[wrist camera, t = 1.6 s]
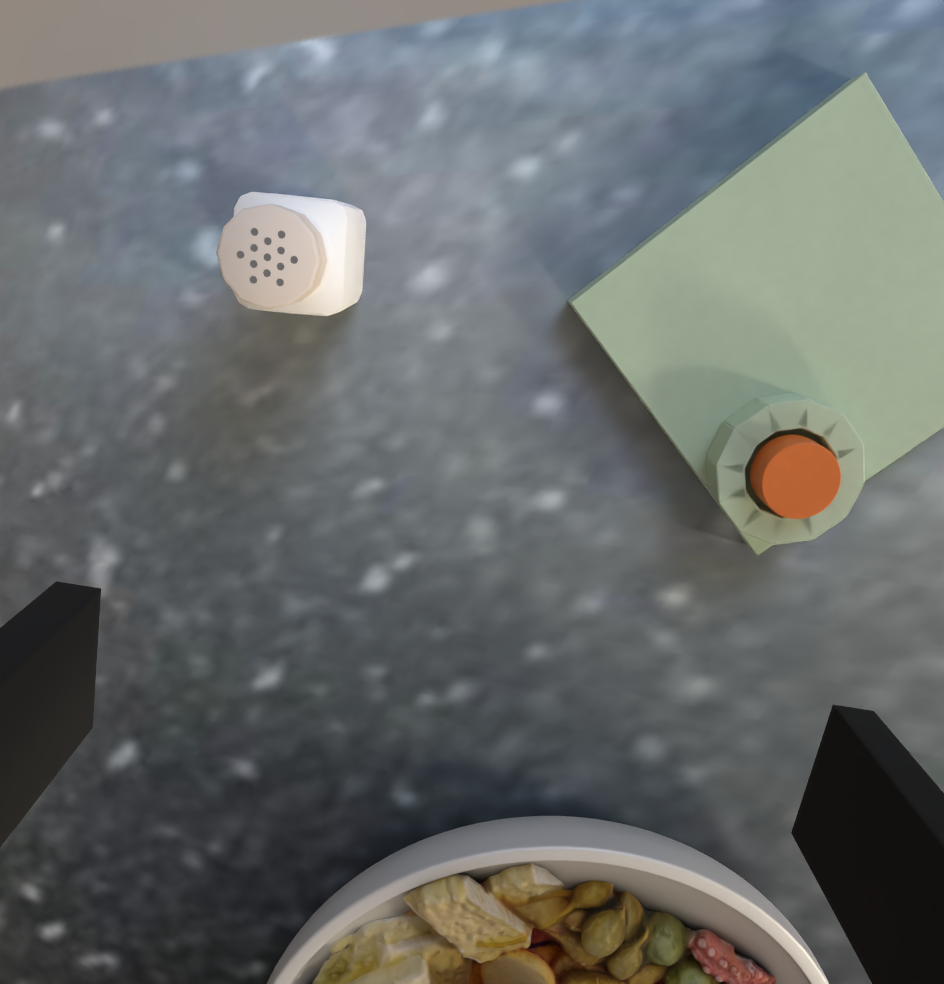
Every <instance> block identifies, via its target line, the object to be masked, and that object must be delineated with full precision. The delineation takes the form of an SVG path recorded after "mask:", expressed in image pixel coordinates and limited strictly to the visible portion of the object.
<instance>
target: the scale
mask: <svg viewBox="0 0 944 984" xmlns="http://www.w3.org/2000/svg"><path fill="white" fill-rule="evenodd" d="M568 303H569V304H570V306H571V307H572V308H573V310H574V311H575V312H576V314H577V315H578V317H579V318H580V319H581V321H582V322H583V323H584V325H585V326H586V327H587V329H588V330H589V331H590V333H591V334H592V335H593V337H594V338H595V340H596V341H597V342H598V344H599V345H600V346H601V348H602V349H603V350H604V352H605V353H606V354H607V356H608V357H609V358H610V360H611V361H612V363H613V364H614V365H615V367H616V368H617V369H618V371H619V372H620V373H621V375H622V376H623V377H624V379H625V380H626V381H627V383H628V384H629V386H630V387H631V388H632V390H633V391H634V392H635V394H636V395H637V396H638V398H639V399H640V400H641V402H642V403H643V404H644V406H645V407H646V409H647V410H648V411H649V413H650V414H651V415H652V417H653V418H654V419H655V421H656V422H657V423H658V425H659V426H660V427H661V429H662V430H663V432H664V433H665V434H666V436H667V437H668V438H669V440H670V441H671V442H672V444H673V445H674V446H675V448H676V449H677V450H678V452H679V453H680V455H681V456H682V457H683V459H684V460H685V461H686V463H687V464H688V465H689V467H690V468H691V469H692V471H693V472H694V473H695V475H696V476H697V478H698V479H699V480H700V482H701V483H702V484H703V486H704V487H705V488H706V490H707V491H708V492H709V494H710V495H711V496H712V498H713V499H714V501H715V502H716V503H717V505H718V506H719V507H720V509H721V510H722V511H723V513H724V514H725V515H726V517H727V518H728V519H729V521H730V522H731V524H732V525H733V526H734V528H735V529H736V530H737V532H738V533H739V534H740V536H741V537H742V538H743V540H744V541H745V542H746V544H747V545H748V546H749V547H750V548H751V550H752V551H753V552H754V553H755V554H756V555H759V554H760V553H762V552H763V551H765V550H766V549H768V548H769V547H770V546H772V545H773V544H775V545H778V544H785V543H793V542H800V541H808V540H813V539H815V538H816V537H818V536H819V535H821V534H822V533H824V532H825V531H827V530H828V529H830V528H831V527H832V526H834V525H835V524H837V523H838V522H840V521H841V520H843V519H844V518H845V517H846V516H847V515H848V513H849V511H850V509H851V508H852V506H853V504H854V502H855V500H856V498H857V497H858V495H859V493H860V491H861V489H862V487H863V486H864V484H865V481H866V480H868V479H869V478H870V477H872V476H873V475H875V474H876V473H878V472H879V471H881V470H882V469H883V468H885V467H886V466H888V465H889V464H891V463H892V462H894V461H895V460H897V459H898V458H899V457H901V456H902V455H904V454H905V453H907V452H908V451H910V450H911V449H912V448H914V447H915V446H917V445H918V444H920V443H921V442H923V441H924V440H926V439H927V438H928V437H930V436H931V435H933V434H934V433H936V432H937V431H939V430H940V429H941V428H943V427H944V202H943V200H942V198H941V197H940V195H939V193H938V192H937V190H936V188H935V187H934V185H933V183H932V182H931V180H930V178H929V177H928V175H927V173H926V172H925V170H924V168H923V167H922V165H921V163H920V162H919V160H918V158H917V157H916V155H915V154H914V152H913V150H912V149H911V147H910V145H909V144H908V142H907V140H906V139H905V137H904V135H903V134H902V132H901V130H900V129H899V127H898V125H897V124H896V122H895V120H894V119H893V117H892V115H891V114H890V112H889V110H888V109H887V107H886V105H885V104H884V102H883V100H882V99H881V97H880V95H879V94H878V92H877V90H876V89H875V87H874V85H873V84H872V82H871V80H870V79H869V77H868V75H867V74H866V73H863V74H861V75H858V76H856V77H854V78H851V79H849V80H848V81H847V82H846V83H844V84H843V85H842V86H840V87H839V88H838V89H837V90H835V91H834V92H833V93H832V94H830V95H829V96H828V97H826V98H825V99H824V100H823V101H821V102H820V103H819V104H817V105H816V106H815V107H814V108H812V109H811V110H810V111H809V112H807V113H806V114H805V115H803V116H802V117H801V118H800V119H798V120H797V121H796V122H794V123H793V124H792V125H791V126H789V127H788V128H787V129H786V130H784V131H783V132H782V133H780V134H779V135H778V136H777V137H775V138H774V139H773V140H772V141H770V142H769V143H768V144H766V145H765V146H764V147H763V148H761V149H760V150H759V151H757V152H756V153H755V154H754V155H752V156H751V157H750V158H749V159H747V160H746V161H745V162H743V163H742V164H741V165H740V166H738V167H737V168H736V169H734V170H733V171H732V172H731V173H729V174H728V175H727V176H726V177H724V178H723V179H722V180H720V181H719V182H718V183H717V184H715V185H714V186H713V187H711V188H710V189H709V190H708V191H706V192H705V193H704V194H703V195H701V196H700V197H699V198H697V199H696V200H695V201H694V202H692V203H691V204H690V205H689V206H687V207H686V208H685V209H683V210H682V211H681V212H680V213H678V214H677V215H676V216H674V217H673V218H672V219H671V220H669V221H668V222H667V223H666V224H664V225H663V226H662V227H660V228H659V229H658V230H657V231H655V232H654V233H653V234H651V235H650V236H649V237H648V238H646V239H645V240H644V241H643V242H641V243H640V244H639V245H637V246H636V247H635V248H634V249H632V250H631V251H630V252H629V253H627V254H626V255H625V256H623V257H622V258H621V259H620V260H618V261H617V262H616V263H614V264H613V265H612V266H611V267H609V268H608V269H607V270H606V271H604V272H603V273H602V274H600V275H599V276H598V277H597V278H595V279H594V280H593V281H591V282H590V283H589V284H588V285H586V286H585V287H584V288H583V289H581V290H580V291H579V292H577V293H576V294H575V295H574V296H572V297H571V298H570V299H569V300H568ZM791 434H794V435H802V436H805V437H807V438H809V439H811V440H813V441H815V442H816V443H818V444H820V445H821V446H823V447H825V448H826V449H828V450H829V451H830V452H831V453H832V454H833V455H834V456H835V458H836V460H837V461H838V464H839V467H840V471H841V482H840V487H839V490H838V493H837V495H836V496H835V498H834V500H833V501H832V502H831V504H830V505H829V506H828V507H827V508H825V509H824V510H823V511H821V512H820V513H818V514H816V515H814V516H811V517H808V518H803V519H790V518H786V517H783V516H780V515H778V514H777V513H775V512H774V511H773V510H772V509H770V508H769V507H768V506H767V505H766V504H765V503H764V502H763V501H762V500H760V499H759V498H758V496H757V495H756V494H755V492H754V490H753V488H752V485H751V481H750V470H751V465H752V462H753V460H754V458H755V456H756V454H757V453H758V451H759V450H760V449H761V448H762V447H763V446H764V445H765V444H766V443H768V442H769V441H771V440H773V439H775V438H777V437H780V436H783V435H791Z"/></svg>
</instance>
